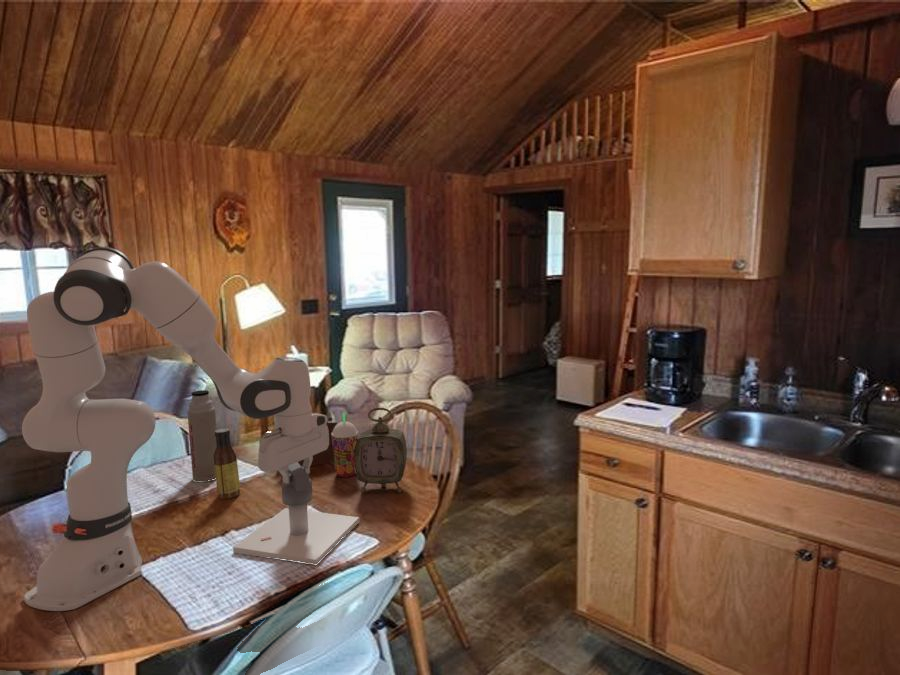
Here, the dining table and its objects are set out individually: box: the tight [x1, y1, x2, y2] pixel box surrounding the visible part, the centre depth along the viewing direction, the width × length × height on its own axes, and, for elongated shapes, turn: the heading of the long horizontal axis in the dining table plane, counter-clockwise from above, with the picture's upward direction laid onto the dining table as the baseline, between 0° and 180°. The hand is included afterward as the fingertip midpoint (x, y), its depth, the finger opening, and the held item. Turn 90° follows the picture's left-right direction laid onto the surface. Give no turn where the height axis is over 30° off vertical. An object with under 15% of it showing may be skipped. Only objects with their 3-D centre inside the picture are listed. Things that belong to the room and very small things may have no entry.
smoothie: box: [331, 412, 359, 478], centre depth 183 cm, size 8×8×20 cm
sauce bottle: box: [214, 427, 241, 500], centre depth 168 cm, size 7×6×20 cm
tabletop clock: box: [354, 407, 408, 493], centre depth 170 cm, size 14×9×25 cm, turn 88°
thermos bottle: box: [186, 389, 218, 482], centre depth 181 cm, size 8×8×28 cm
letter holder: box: [298, 422, 339, 467], centre depth 195 cm, size 10×20×14 cm, turn 125°
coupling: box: [280, 462, 314, 507], centre depth 141 cm, size 12×7×8 cm, turn 29°
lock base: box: [232, 503, 360, 564], centre depth 143 cm, size 22×22×10 cm
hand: (296, 478), depth 141 cm, fingers closed on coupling, 4 cm apart
